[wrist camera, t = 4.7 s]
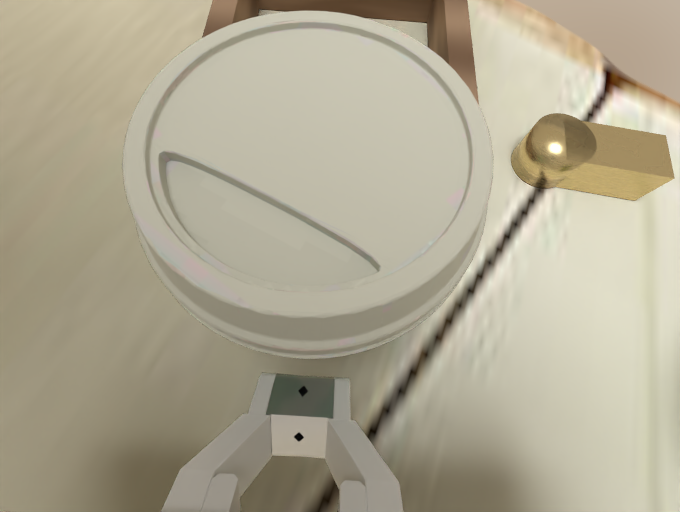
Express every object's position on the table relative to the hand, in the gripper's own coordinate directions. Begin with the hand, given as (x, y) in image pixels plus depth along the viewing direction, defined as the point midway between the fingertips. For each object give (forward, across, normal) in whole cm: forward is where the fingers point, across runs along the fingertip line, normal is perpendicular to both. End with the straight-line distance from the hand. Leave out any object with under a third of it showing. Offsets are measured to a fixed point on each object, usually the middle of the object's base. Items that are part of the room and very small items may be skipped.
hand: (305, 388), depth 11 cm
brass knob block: (+14, -16, -6) cm, 22 cm away
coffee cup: (+8, 0, 0) cm, 8 cm away
